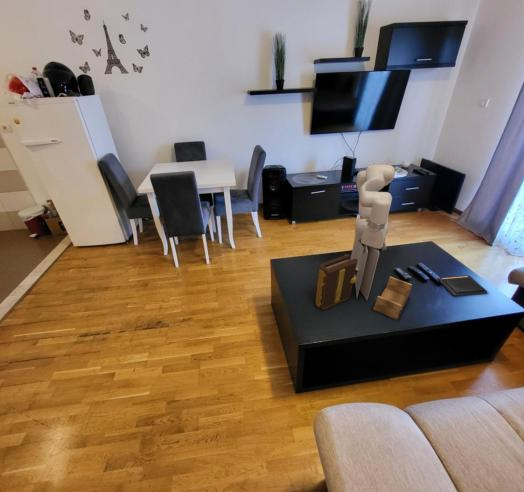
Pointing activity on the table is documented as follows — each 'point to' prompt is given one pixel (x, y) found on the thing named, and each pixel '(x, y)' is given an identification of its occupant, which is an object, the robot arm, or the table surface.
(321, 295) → the book
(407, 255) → the table surface
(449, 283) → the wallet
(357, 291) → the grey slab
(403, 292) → the stand
